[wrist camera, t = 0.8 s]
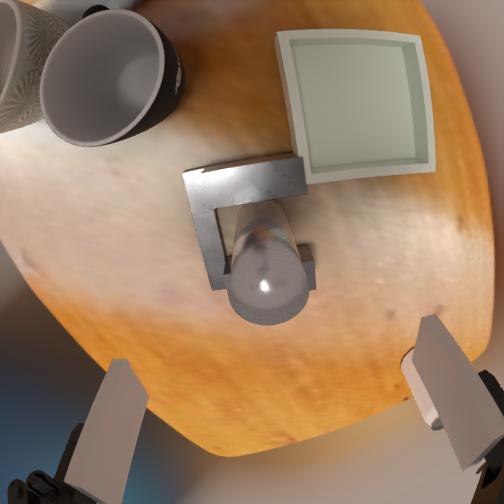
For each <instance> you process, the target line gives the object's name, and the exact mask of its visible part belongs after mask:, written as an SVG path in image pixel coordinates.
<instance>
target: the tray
mask: <svg viewBox="0 0 504 504" xmlns="http://www.w3.org/2000/svg"><path fill="white" fill-rule="evenodd" d="M274 46H275V51H276V56H277V62H278V67H279V72H280V77H281V83H282V89H283V94H284V100H285V106H286V112H287V118H288V124H289V131H290V137H291V144H292V150H293V153H294V154H296V155H297V156H298V157H302V156H303V161H304V169H305V177H306V185H309V184H316V183H324V182H332V181H341V180H349V179H358V178H368V177H378V176H388V175H400V174H412V173H426V172H436V161H435V136H434V122H433V111H432V102H431V93H430V86H429V79H428V73H427V67H426V61H425V56H424V51H423V46H422V42H421V37H420V36H418V35H411V34H404V33H396V32H386V31H375V30H358V29H307V30H290V31H278V32H277V33H276V36H275V39H274Z"/></svg>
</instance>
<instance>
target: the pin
mask: <svg viewBox="0 0 504 504" xmlns="http://www.w3.org/2000/svg"><path fill="white" fill-rule="evenodd" d="M228 296H229V301H230V304H231V306H232V308H233V309H234V310H235V312H236V313H237V314H238V315H239V316H241V317H242V318H243V319H245V320H247V321H249V322H251V323H254V324H259V325H276V324H280V323H283V322H286V321H288V320H290V319H292V318H293V317H295V316H296V315H297V314H298V313H299V312H300V311H301V310H302V309H303V308H304V306H305V304H306V302H307V300H308V297H309V284H308V281H307V277H306V274H305V271H304V268H303V265H302V262H301V259H300V256H299V253H298V250H297V247H296V244H295V241H294V238H293V235H292V232H291V229H290V226H289V223H288V220H287V217H286V215H285V212H284V210H283V208H282V207H281V206H280V205H279V204H278V203H277V202H275V201H273V200H271V199H270V200H263V201H257V202H251V203H246V204H245V205H244V206H243V207H242V208H241V209H240V211H239V213H238V216H237V224H236V232H235V240H234V248H233V256H232V264H231V273H230V281H229V290H228Z"/></svg>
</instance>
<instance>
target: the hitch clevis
mask: <svg viewBox="0 0 504 504" xmlns="http://www.w3.org/2000/svg"><path fill="white" fill-rule="evenodd" d="M182 174H183V179H184V183H185V187H186V192H187V196H188V200H189V204H190V208H191V212H192V216H193V220H194V224H195V228H196V232H197V236H198V240H199V244H200V248H201V252H202V255H203V259H204V263H205V266H206V270H207V274H208V277H209V281H210V285H211V288H212V291H213V290H220V289H227V292H228V290H229V281H230V273H231V264H232V256H228V257H226V255H225V250H224V246H223V241H222V237H221V233H220V228H219V224H218V219H217V215H216V210H215V209H216V208H222V207H227V206H233V205H239V204H245V203H251V202H257V201H263V200H270V199H276V198H283V197H290V196H297V195H304V194H308V193H307V185H306V177H305V169H304V161H303V156H302V157H298V156H297V155H296V154H294V153H293V152H290V153H283V154H276V155H269V156H263V157H256V158H250V159H244V160H239V161H233V162H227V163H222V164H217V165H212V166H207V167H202V168H197V169H192V170H188V171H184V172H183V173H182ZM296 247H297V250H298V253H299V256H300V259H301V262H302V265H303V268H304V271H305V274H306V277H307V281H308V284H309V291H310V290H316V280H315V267H314V260H313V257H312V255H311V252H310V250H309V247H308V245H307V244H306V245H299V246H296Z"/></svg>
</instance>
